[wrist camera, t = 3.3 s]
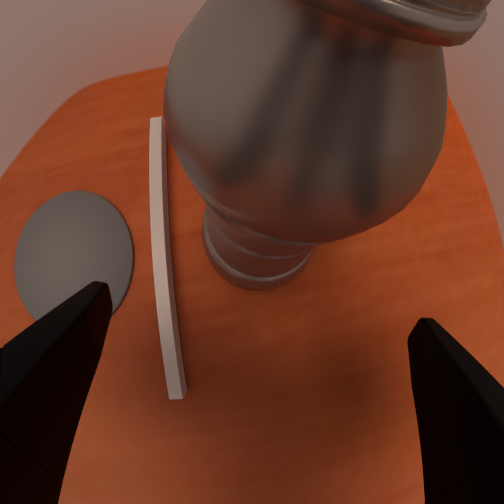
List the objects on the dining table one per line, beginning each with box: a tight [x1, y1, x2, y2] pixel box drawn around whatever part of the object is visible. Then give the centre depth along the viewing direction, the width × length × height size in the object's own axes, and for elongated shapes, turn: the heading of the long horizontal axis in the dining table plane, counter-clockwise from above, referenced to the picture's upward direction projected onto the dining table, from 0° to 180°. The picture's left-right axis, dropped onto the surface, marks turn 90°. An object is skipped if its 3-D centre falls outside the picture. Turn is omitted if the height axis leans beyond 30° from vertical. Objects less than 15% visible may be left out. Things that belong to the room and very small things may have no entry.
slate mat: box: [14, 191, 134, 320], centre depth 19 cm, size 10×10×1 cm
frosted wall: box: [149, 116, 187, 400], centre depth 19 cm, size 18×1×2 cm, turn 7°
